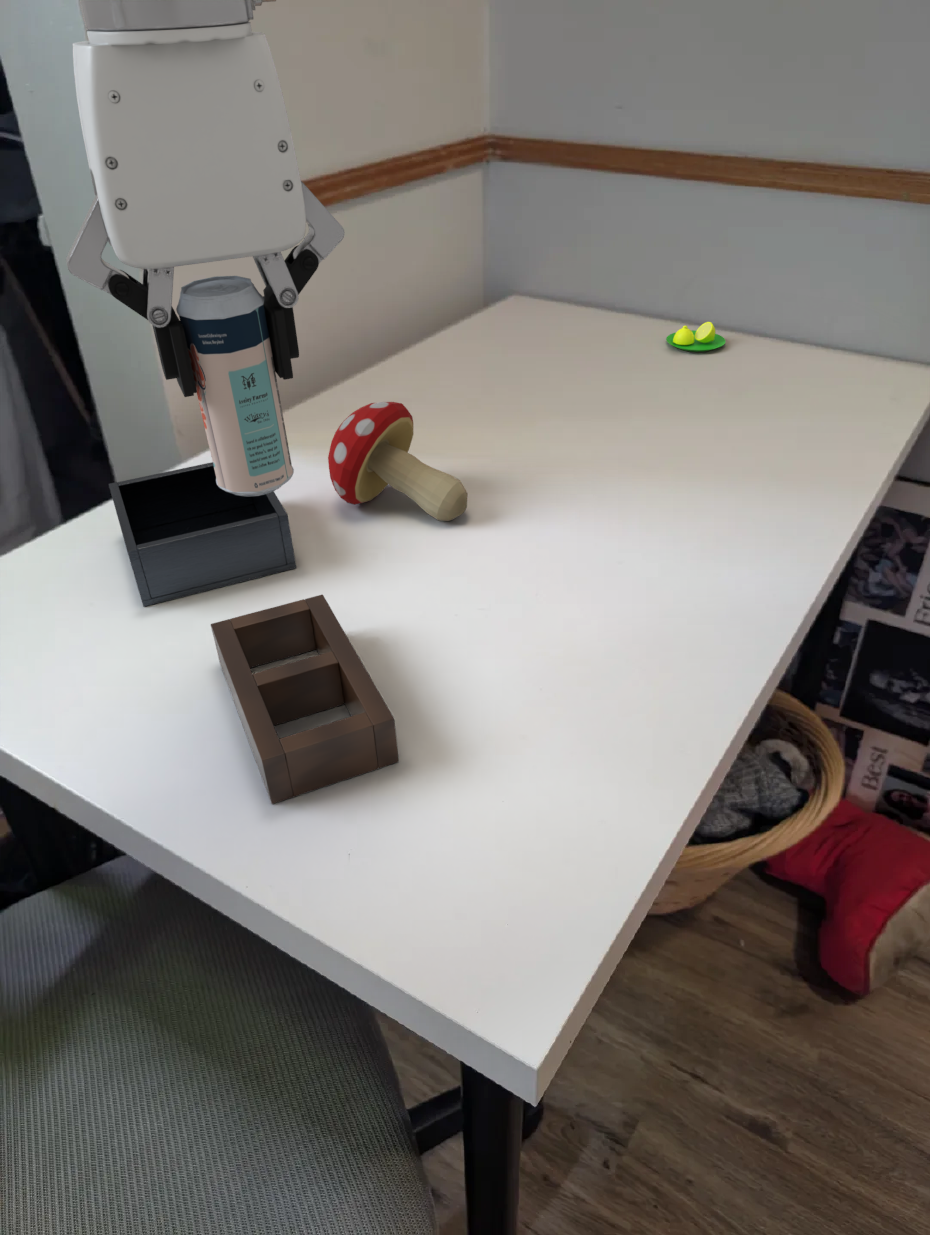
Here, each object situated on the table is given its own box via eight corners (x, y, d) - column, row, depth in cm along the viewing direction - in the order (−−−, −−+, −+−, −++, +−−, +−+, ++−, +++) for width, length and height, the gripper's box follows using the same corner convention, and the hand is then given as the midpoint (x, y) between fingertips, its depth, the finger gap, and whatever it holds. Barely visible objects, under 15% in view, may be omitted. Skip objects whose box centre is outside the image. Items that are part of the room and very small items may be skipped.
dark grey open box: (143, 607, 79) (127, 551, 76) (123, 535, 89) (108, 483, 86) (296, 568, 83) (287, 514, 80) (260, 504, 94) (251, 453, 90)
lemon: (707, 332, 131) (710, 312, 129) (735, 350, 125) (738, 329, 123) (655, 339, 129) (657, 318, 128) (681, 357, 123) (684, 336, 121)
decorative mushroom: (506, 465, 93) (387, 392, 96) (478, 452, 82) (344, 370, 85) (451, 559, 95) (336, 485, 98) (416, 559, 84) (288, 475, 87)
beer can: (244, 461, 60) (204, 271, 53) (308, 470, 58) (276, 275, 51) (202, 495, 56) (153, 296, 49) (270, 506, 55) (230, 302, 48)
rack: (271, 804, 60) (261, 760, 58) (220, 664, 72) (210, 623, 70) (399, 762, 63) (394, 718, 60) (328, 634, 75) (322, 593, 73)
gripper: (320, -7, 48) (355, 338, 59) (-31, 10, 43) (76, 384, 54) (364, -5, 42) (394, 376, 53) (-35, 15, 37) (87, 432, 48)
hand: (234, 376), depth 53 cm, fingers closed on beer can, 4 cm apart
